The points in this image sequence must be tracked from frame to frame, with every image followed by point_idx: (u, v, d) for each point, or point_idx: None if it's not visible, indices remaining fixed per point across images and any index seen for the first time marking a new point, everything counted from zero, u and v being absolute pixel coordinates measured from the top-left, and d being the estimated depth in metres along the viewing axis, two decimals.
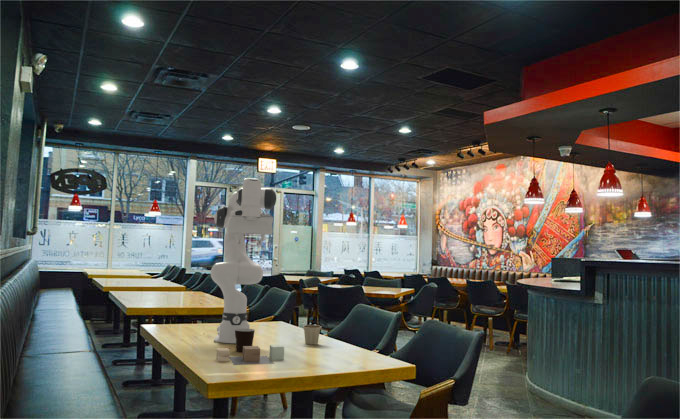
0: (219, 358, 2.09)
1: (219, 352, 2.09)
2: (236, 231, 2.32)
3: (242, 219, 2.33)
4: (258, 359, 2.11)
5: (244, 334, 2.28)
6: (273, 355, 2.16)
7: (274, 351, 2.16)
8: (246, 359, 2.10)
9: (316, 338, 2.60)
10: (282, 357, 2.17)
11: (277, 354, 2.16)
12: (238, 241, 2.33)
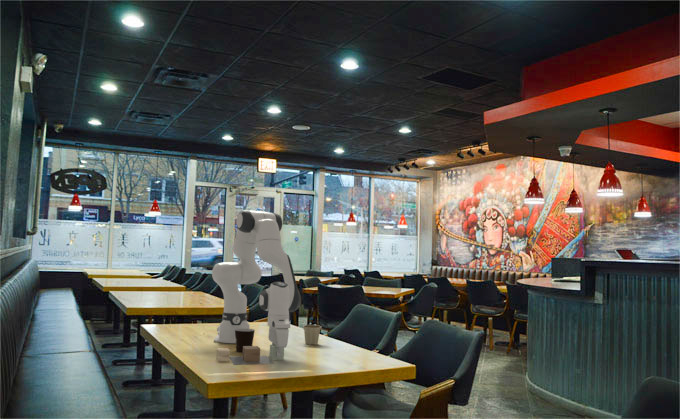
0: (219, 358, 2.09)
1: (219, 352, 2.09)
2: None
3: None
4: (258, 359, 2.11)
5: (244, 334, 2.28)
6: (273, 355, 2.16)
7: (274, 351, 2.16)
8: (246, 359, 2.10)
9: (316, 338, 2.60)
10: (282, 357, 2.17)
11: None
12: None
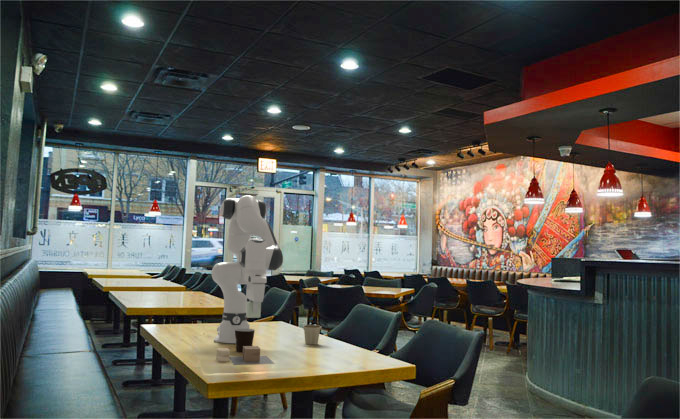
0: (219, 358, 2.09)
1: (219, 352, 2.09)
2: None
3: None
4: (258, 359, 2.11)
5: (244, 334, 2.28)
6: (249, 311, 2.12)
7: (251, 307, 2.12)
8: (246, 359, 2.10)
9: (316, 338, 2.60)
10: (259, 313, 2.13)
11: None
12: None
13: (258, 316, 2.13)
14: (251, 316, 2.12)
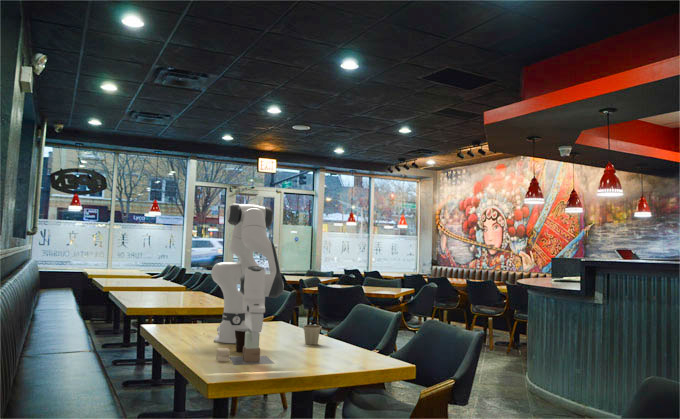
0: (219, 358, 2.09)
1: (219, 352, 2.09)
2: None
3: None
4: (258, 359, 2.11)
5: (244, 334, 2.28)
6: (248, 342, 2.11)
7: (249, 337, 2.11)
8: (246, 359, 2.10)
9: (316, 338, 2.60)
10: (257, 344, 2.12)
11: None
12: None
13: (256, 347, 2.12)
14: (249, 347, 2.11)
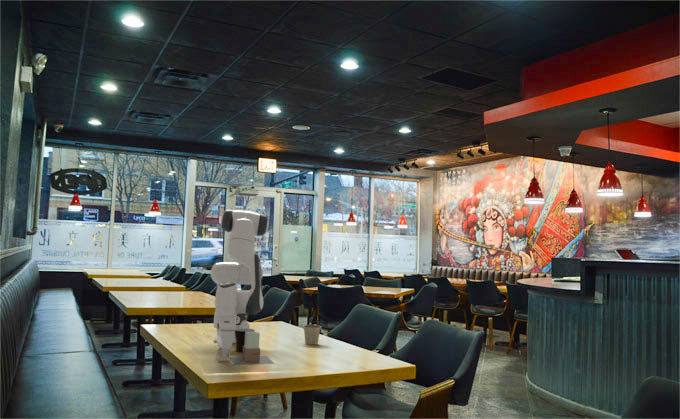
0: (219, 357, 2.09)
1: (219, 352, 2.09)
2: None
3: None
4: (258, 359, 2.11)
5: (244, 334, 2.28)
6: (248, 342, 2.11)
7: (249, 337, 2.11)
8: (246, 359, 2.10)
9: (316, 338, 2.60)
10: (257, 344, 2.12)
11: (252, 341, 2.12)
12: None
13: (256, 347, 2.12)
14: (249, 347, 2.11)
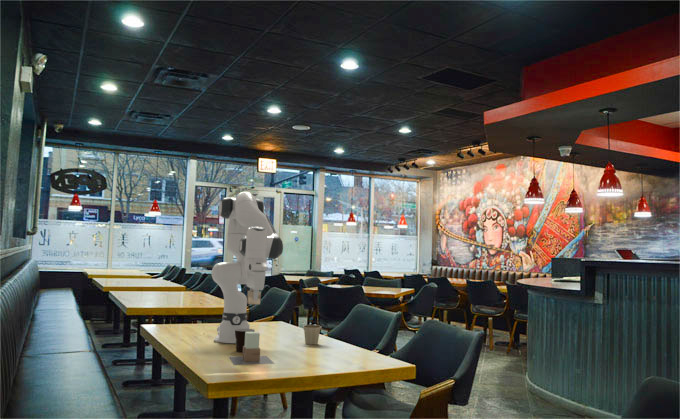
0: (251, 299, 2.13)
1: (250, 293, 2.13)
2: None
3: None
4: (258, 359, 2.11)
5: (244, 334, 2.28)
6: (248, 342, 2.11)
7: (249, 337, 2.11)
8: (246, 359, 2.10)
9: (316, 338, 2.60)
10: (257, 344, 2.12)
11: (252, 341, 2.12)
12: None
13: (256, 347, 2.12)
14: (249, 347, 2.11)
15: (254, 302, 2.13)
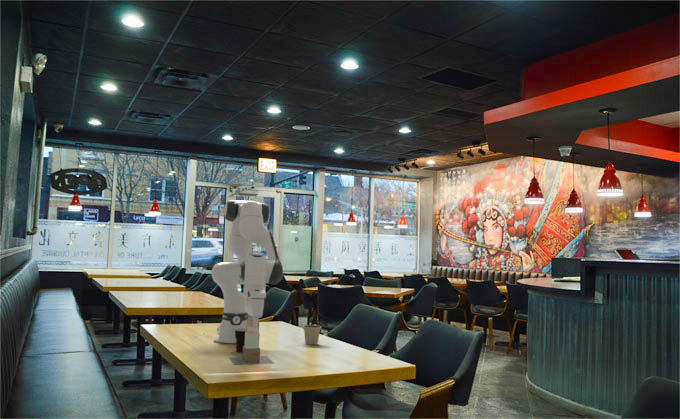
0: (249, 328, 2.12)
1: (249, 322, 2.12)
2: None
3: None
4: (258, 359, 2.11)
5: (244, 334, 2.28)
6: (248, 342, 2.11)
7: (249, 337, 2.11)
8: (246, 359, 2.10)
9: (316, 338, 2.60)
10: (257, 344, 2.12)
11: (252, 341, 2.12)
12: None
13: (256, 347, 2.12)
14: (249, 347, 2.11)
15: (253, 331, 2.12)
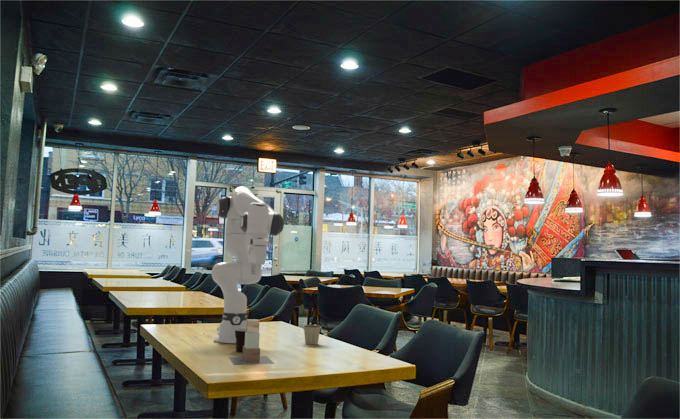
0: (249, 328, 2.12)
1: (249, 322, 2.12)
2: None
3: None
4: (258, 359, 2.11)
5: (244, 334, 2.28)
6: (248, 342, 2.11)
7: (249, 337, 2.11)
8: (246, 359, 2.10)
9: (316, 338, 2.60)
10: (257, 344, 2.12)
11: (252, 341, 2.12)
12: None
13: (256, 347, 2.12)
14: (249, 347, 2.11)
15: (253, 331, 2.12)
